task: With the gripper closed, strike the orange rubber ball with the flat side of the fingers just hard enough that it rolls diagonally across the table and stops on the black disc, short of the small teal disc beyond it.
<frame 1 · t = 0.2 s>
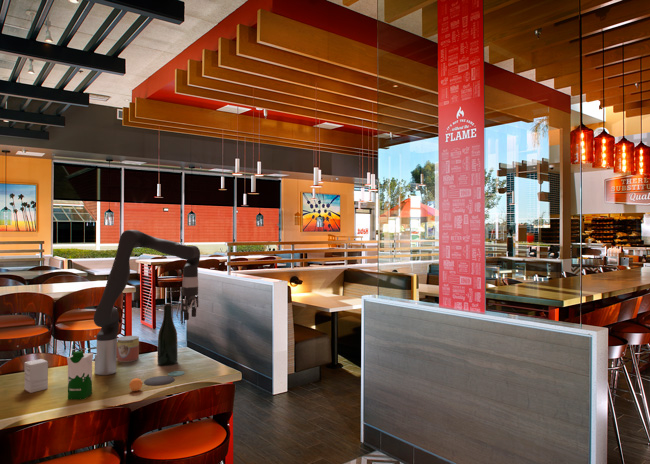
hand: (190, 318, 226), 29 cm above the table, tool pointing down, fingers open, 8 cm apart
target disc: (159, 380, 219), on the table
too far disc: (176, 373, 230), on the table
supplement box: (36, 389, 206), on the table
milk carton: (80, 397, 197), on the table
canned food: (128, 359, 256), on the table
ball: (135, 384, 205), on the table
dark green wine bottle: (167, 363, 248), on the table
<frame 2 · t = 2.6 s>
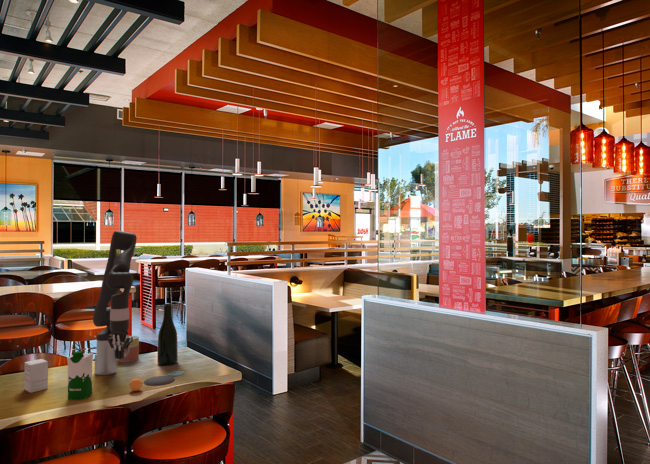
hand: (119, 358, 196), 17 cm above the table, tool pointing down, fingers closed
nothing on the table moved.
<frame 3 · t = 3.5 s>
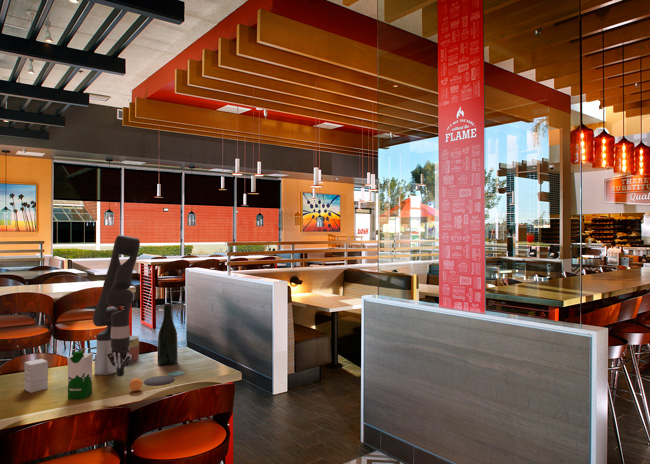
hand: (120, 376, 196), 9 cm above the table, tool pointing down, fingers closed
nothing on the table moved.
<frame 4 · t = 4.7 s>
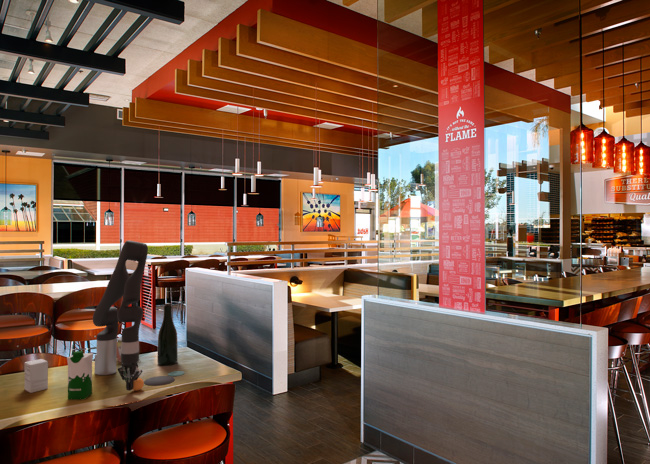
hand: (129, 389, 202), 1 cm above the table, tool pointing down, fingers closed
ball: (137, 384, 206), on the table, touching gripper
everything else where it was.
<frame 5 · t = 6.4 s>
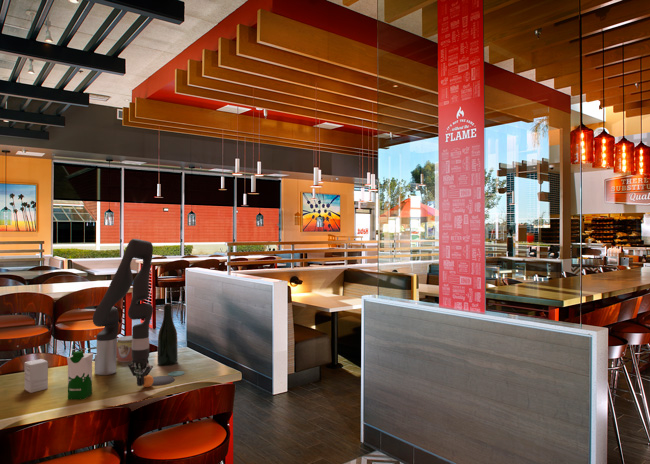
hand: (140, 385, 207), 2 cm above the table, tool pointing down, fingers closed
ball: (147, 380, 210), on the table, touching gripper
everything else where it was.
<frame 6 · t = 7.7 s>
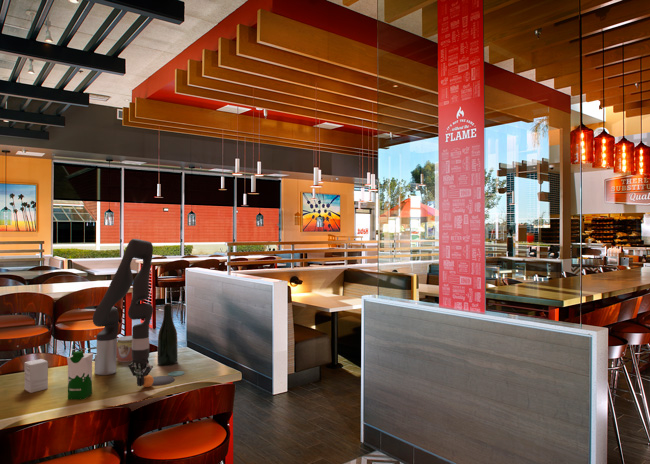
hand: (140, 385, 207), 2 cm above the table, tool pointing down, fingers closed
nothing on the table moved.
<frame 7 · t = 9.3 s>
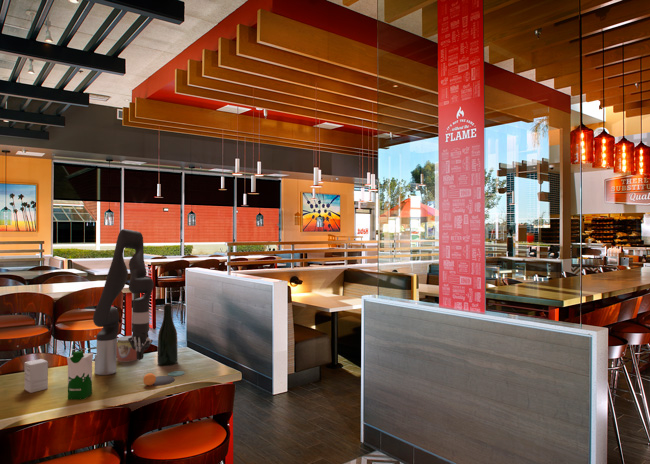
hand: (139, 359, 207), 14 cm above the table, tool pointing down, fingers closed
ball: (149, 379, 213), on the table
everything else where it was.
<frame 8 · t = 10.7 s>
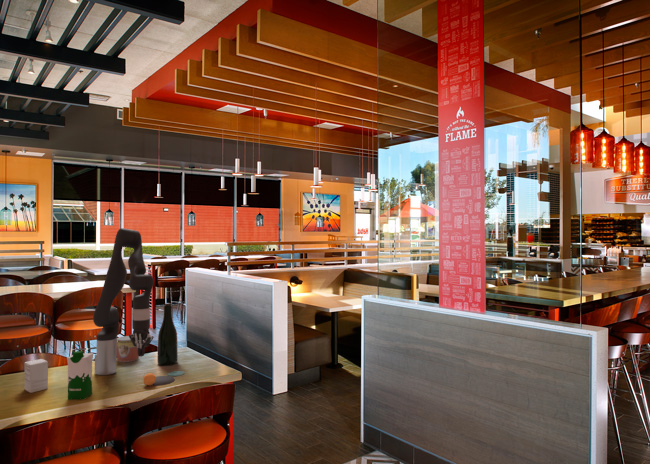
hand: (141, 355, 208), 15 cm above the table, tool pointing down, fingers closed
nothing on the table moved.
at the end: ball 6.7 cm from the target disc (horizontally); ball at rest at the end (0.0 cm/s); ball moved 8.3 cm from its start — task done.
